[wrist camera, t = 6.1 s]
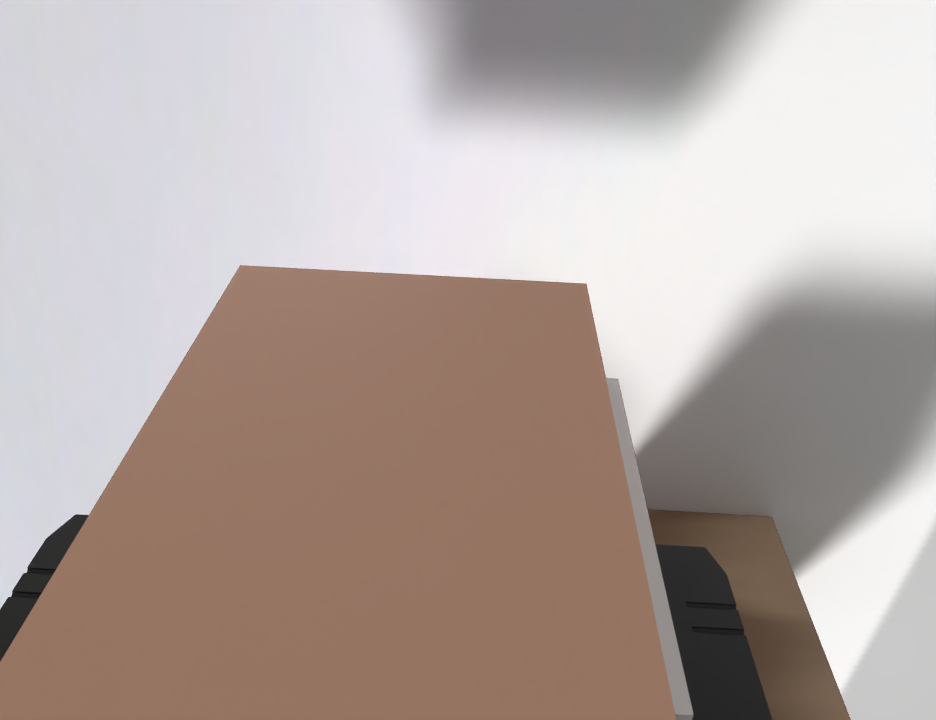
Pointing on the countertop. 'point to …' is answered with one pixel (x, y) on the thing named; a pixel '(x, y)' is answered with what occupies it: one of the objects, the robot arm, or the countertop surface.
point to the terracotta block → (360, 521)
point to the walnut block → (764, 608)
